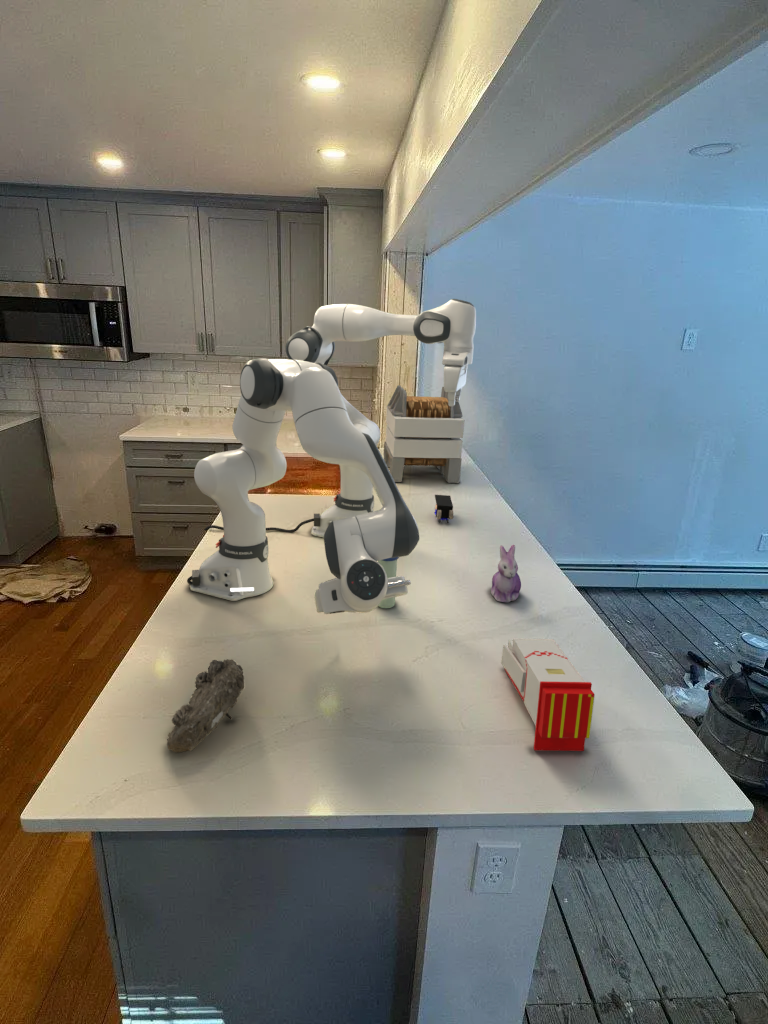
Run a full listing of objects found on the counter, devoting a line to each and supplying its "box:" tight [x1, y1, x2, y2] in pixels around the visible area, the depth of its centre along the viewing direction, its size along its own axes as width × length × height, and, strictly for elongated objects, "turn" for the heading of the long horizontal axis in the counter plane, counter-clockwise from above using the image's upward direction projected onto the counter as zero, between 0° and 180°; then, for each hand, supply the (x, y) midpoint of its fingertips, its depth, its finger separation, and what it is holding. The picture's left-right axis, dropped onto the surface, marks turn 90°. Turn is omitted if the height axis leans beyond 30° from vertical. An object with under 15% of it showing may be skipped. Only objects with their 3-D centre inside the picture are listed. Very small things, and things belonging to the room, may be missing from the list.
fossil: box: [166, 658, 245, 754], centre depth 106 cm, size 22×10×15 cm
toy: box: [500, 637, 595, 752], centre depth 114 cm, size 12×13×30 cm
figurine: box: [490, 544, 522, 603], centre depth 157 cm, size 9×10×15 cm
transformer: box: [383, 384, 465, 484], centre depth 268 cm, size 34×33×41 cm
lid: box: [383, 557, 400, 561], centre depth 147 cm, size 6×6×2 cm
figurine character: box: [433, 494, 454, 524], centre depth 215 cm, size 7×8×15 cm
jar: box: [377, 559, 398, 609], centre depth 150 cm, size 5×5×15 cm
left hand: (360, 598), depth 129 cm, fingers open, 8 cm apart
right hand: (454, 403), depth 174 cm, fingers open, 8 cm apart
